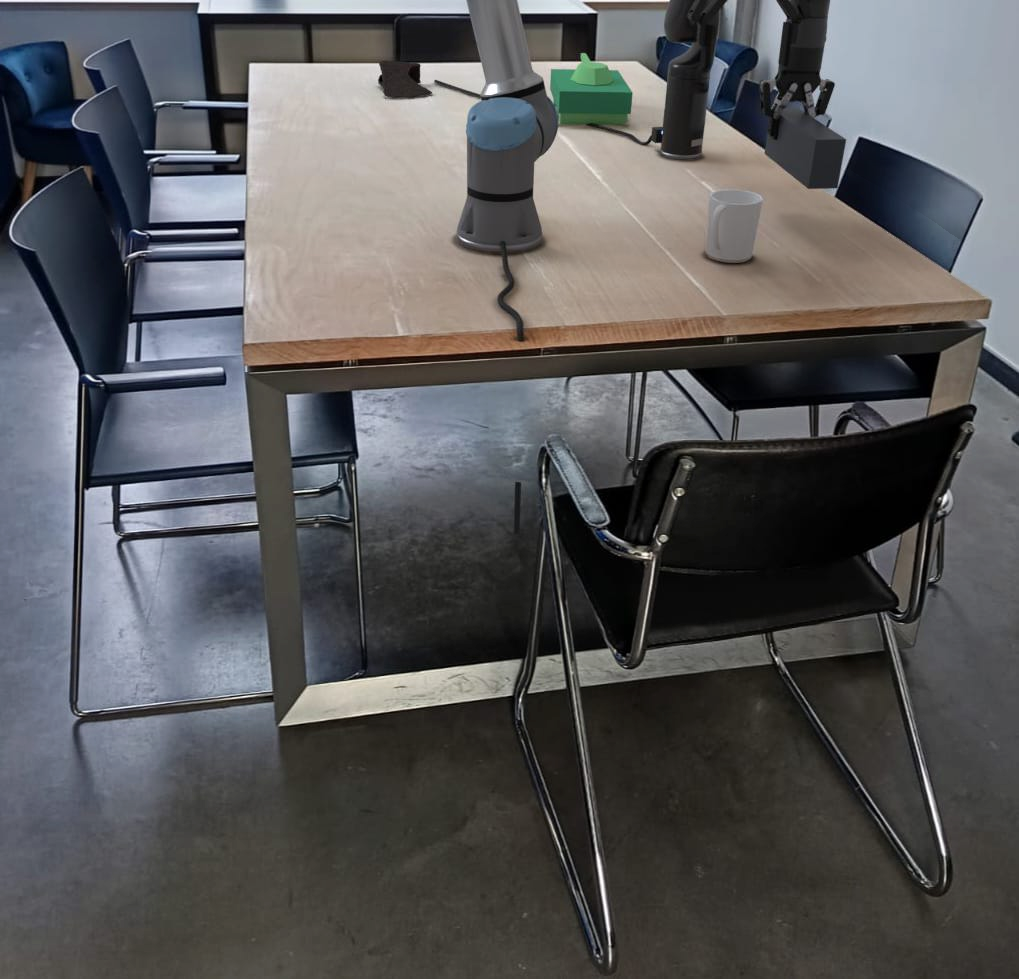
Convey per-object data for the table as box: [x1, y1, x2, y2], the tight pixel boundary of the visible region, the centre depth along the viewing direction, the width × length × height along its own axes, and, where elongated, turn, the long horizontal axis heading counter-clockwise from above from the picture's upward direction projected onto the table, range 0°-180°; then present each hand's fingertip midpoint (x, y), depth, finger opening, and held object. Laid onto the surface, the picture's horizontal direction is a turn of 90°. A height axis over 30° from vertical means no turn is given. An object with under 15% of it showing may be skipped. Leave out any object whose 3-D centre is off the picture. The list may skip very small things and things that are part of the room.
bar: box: [764, 107, 847, 190], centre depth 198 cm, size 23×5×8 cm, turn 8°
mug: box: [705, 188, 764, 264], centre depth 188 cm, size 11×9×10 cm
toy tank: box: [549, 52, 633, 126], centre depth 280 cm, size 18×12×35 cm
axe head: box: [377, 59, 433, 99], centre depth 299 cm, size 18×8×15 cm
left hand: (743, 66), depth 183 cm, fingers open, 13 cm apart
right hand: (788, 137), depth 205 cm, fingers closed on bar, 5 cm apart
